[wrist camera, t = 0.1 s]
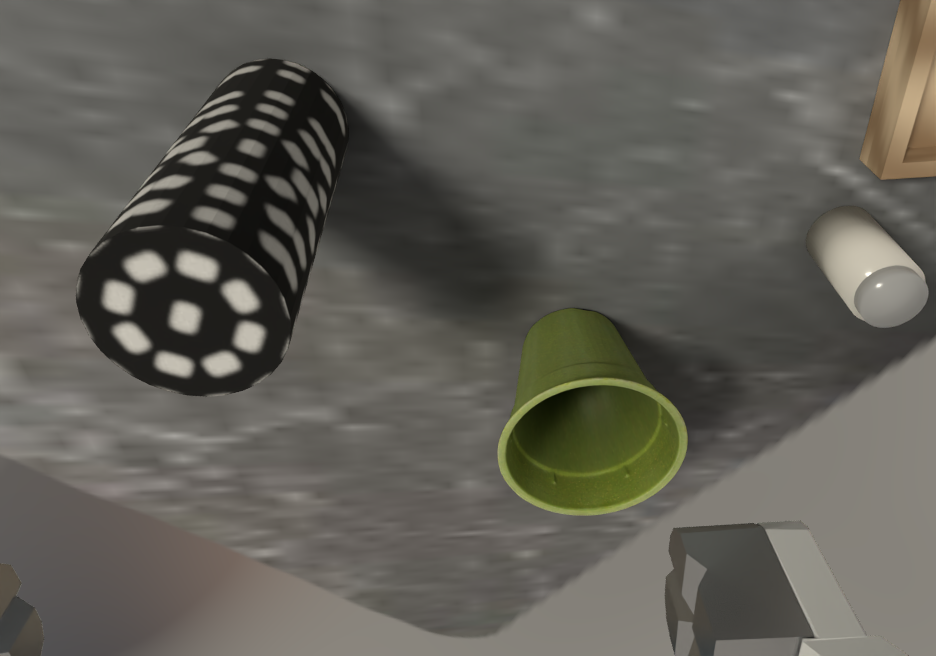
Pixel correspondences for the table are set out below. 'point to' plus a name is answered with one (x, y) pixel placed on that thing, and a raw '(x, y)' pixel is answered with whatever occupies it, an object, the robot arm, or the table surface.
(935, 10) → the caddy
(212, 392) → the spotted tube
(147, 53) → the table surface
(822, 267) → the salt shaker
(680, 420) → the plant pot
